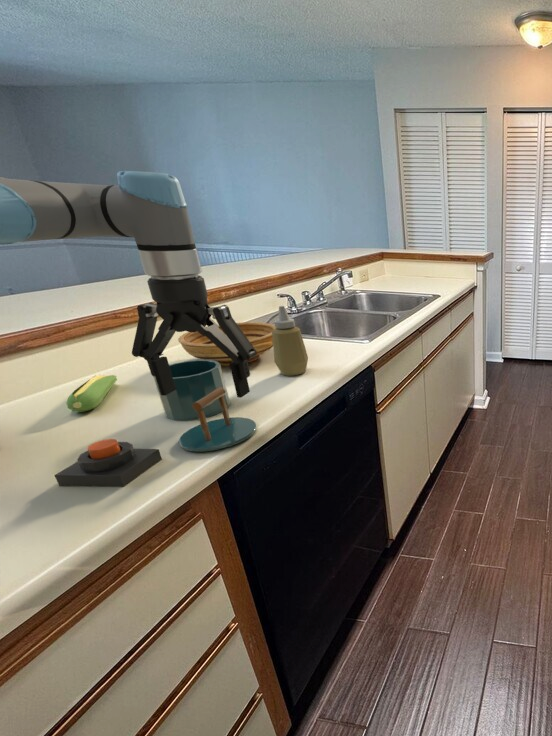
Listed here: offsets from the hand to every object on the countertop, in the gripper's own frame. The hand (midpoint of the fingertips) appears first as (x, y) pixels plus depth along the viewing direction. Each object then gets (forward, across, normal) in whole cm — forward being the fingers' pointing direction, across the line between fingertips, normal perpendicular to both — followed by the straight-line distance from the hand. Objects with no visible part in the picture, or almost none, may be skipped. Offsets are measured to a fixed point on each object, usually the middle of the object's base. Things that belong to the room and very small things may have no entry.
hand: (206, 393), depth 78 cm
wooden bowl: (+10, +23, -45) cm, 51 cm away
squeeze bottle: (+9, +2, -35) cm, 36 cm away
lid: (+9, 0, 0) cm, 9 cm away
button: (+6, +10, +12) cm, 16 cm away
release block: (+9, +10, +12) cm, 18 cm away
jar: (+9, +12, -12) cm, 19 cm away
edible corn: (+10, +37, -17) cm, 42 cm away
